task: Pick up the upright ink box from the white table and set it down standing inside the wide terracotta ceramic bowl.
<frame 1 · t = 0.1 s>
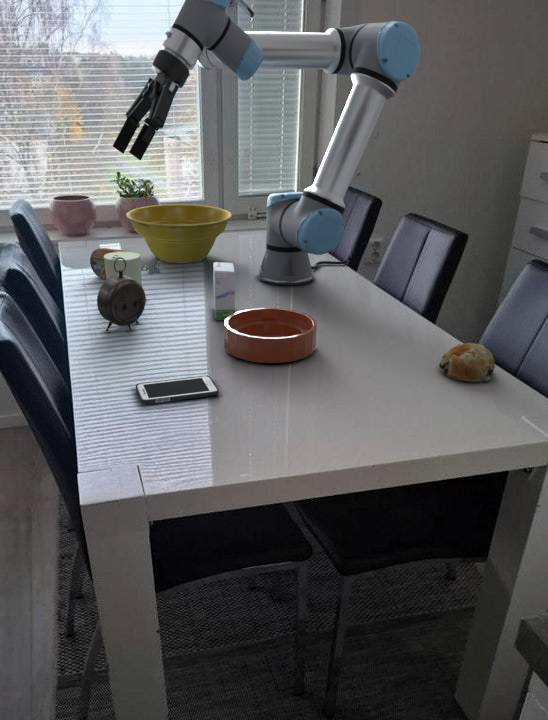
hand: (125, 153, 144), 36 cm above the table, tool tilted 35°, fingers open, 13 cm apart
bread roll: (464, 374, 134), on the table
tin: (116, 279, 190), on the table
bowl: (269, 349, 144), on the table
cell phone: (177, 393, 125), on the table
planter bowl: (181, 258, 210), on the table
can: (126, 301, 172), on the table
ink box: (224, 315, 164), on the table
alarm clock: (125, 329, 155), on the table
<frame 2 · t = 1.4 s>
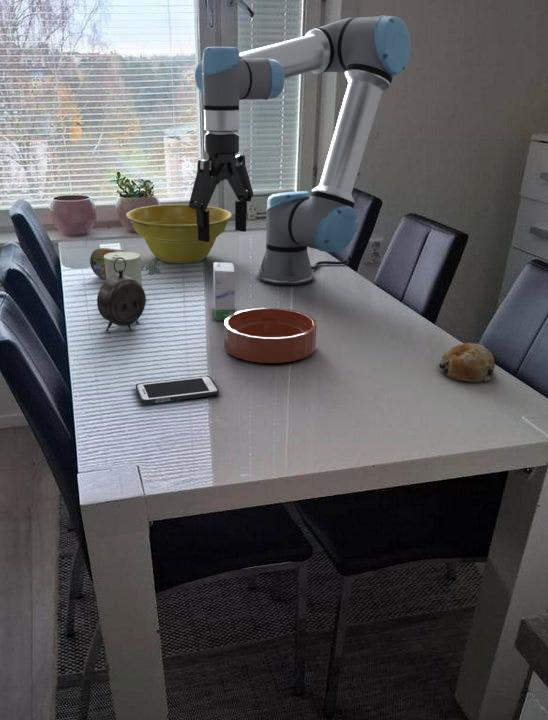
hand: (222, 235, 153), 19 cm above the table, tool pointing down, fingers open, 13 cm apart
nothing on the table moved.
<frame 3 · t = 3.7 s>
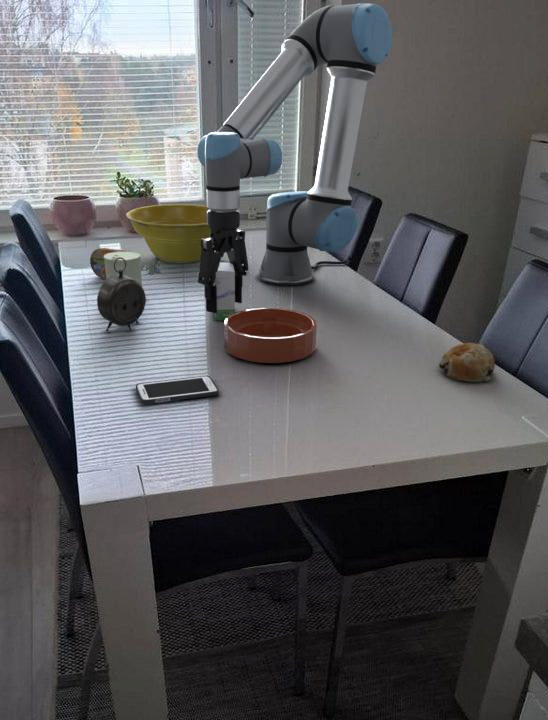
hand: (224, 306, 162), 2 cm above the table, tool pointing down, fingers closed on ink box, 9 cm apart
ink box: (224, 315, 164), on the table, touching gripper
everything else where it was.
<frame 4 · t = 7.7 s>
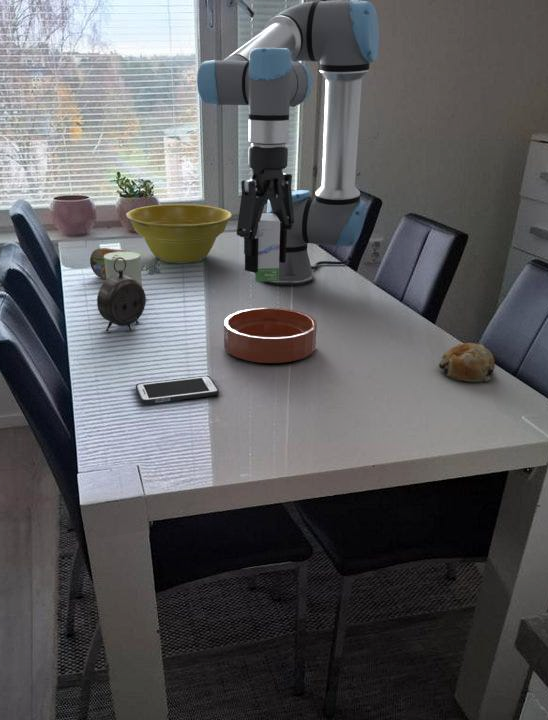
hand: (265, 266, 137), 17 cm above the table, tool pointing down, fingers closed on ink box, 9 cm apart
ink box: (265, 277, 138), point 15 cm above the table, touching gripper
everything else where it was.
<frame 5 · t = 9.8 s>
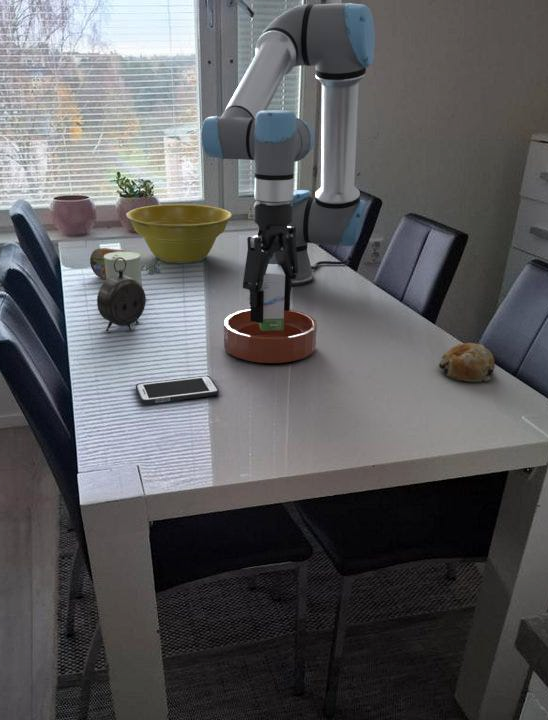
hand: (270, 315, 140), 8 cm above the table, tool pointing down, fingers closed on ink box, 9 cm apart
ink box: (270, 325, 141), point 5 cm above the table, touching gripper
everything else where it was.
when the fingers open (3 cm above the table, at t = 11.6 s): ink box stays where it is, resting on bowl.
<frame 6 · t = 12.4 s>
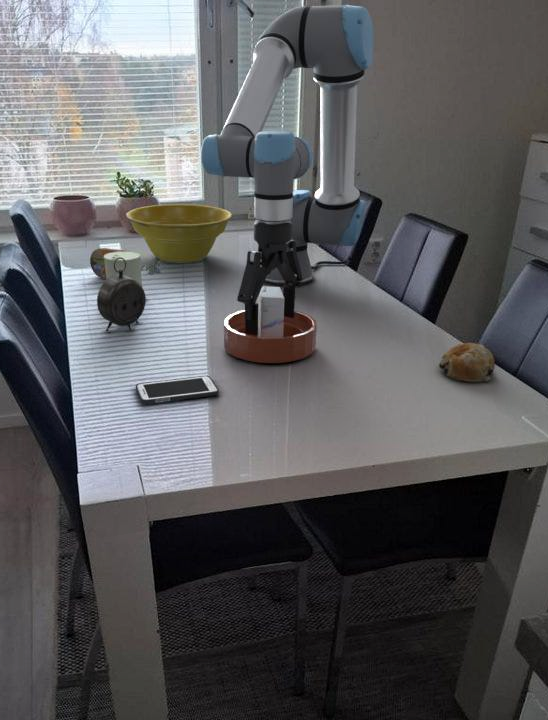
hand: (270, 325, 142), 5 cm above the table, tool pointing down, fingers open, 13 cm apart
ink box: (269, 346, 144), point 1 cm above the table, touching bowl
everything else where it was.
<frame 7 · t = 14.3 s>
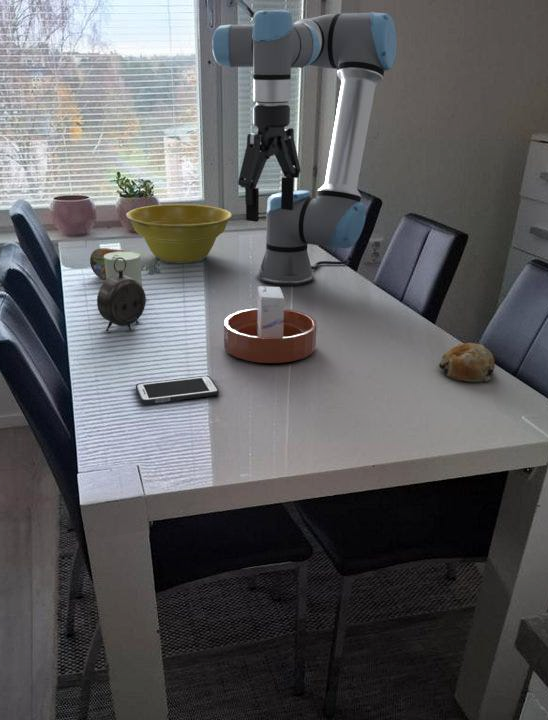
hand: (270, 215, 146), 24 cm above the table, tool pointing down, fingers open, 13 cm apart
nothing on the table moved.
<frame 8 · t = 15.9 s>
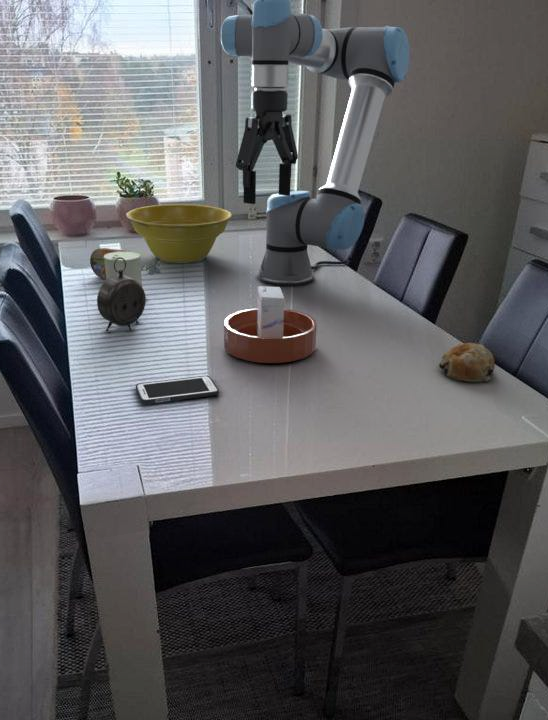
hand: (267, 199, 149), 27 cm above the table, tool pointing down, fingers open, 13 cm apart
nothing on the table moved.
at the end: ink box inside the target area in the bowl (0.0 cm from its centre), point 0.6 cm above the bowl's base; ink box tilted 0°; the gripper is holding nothing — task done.
